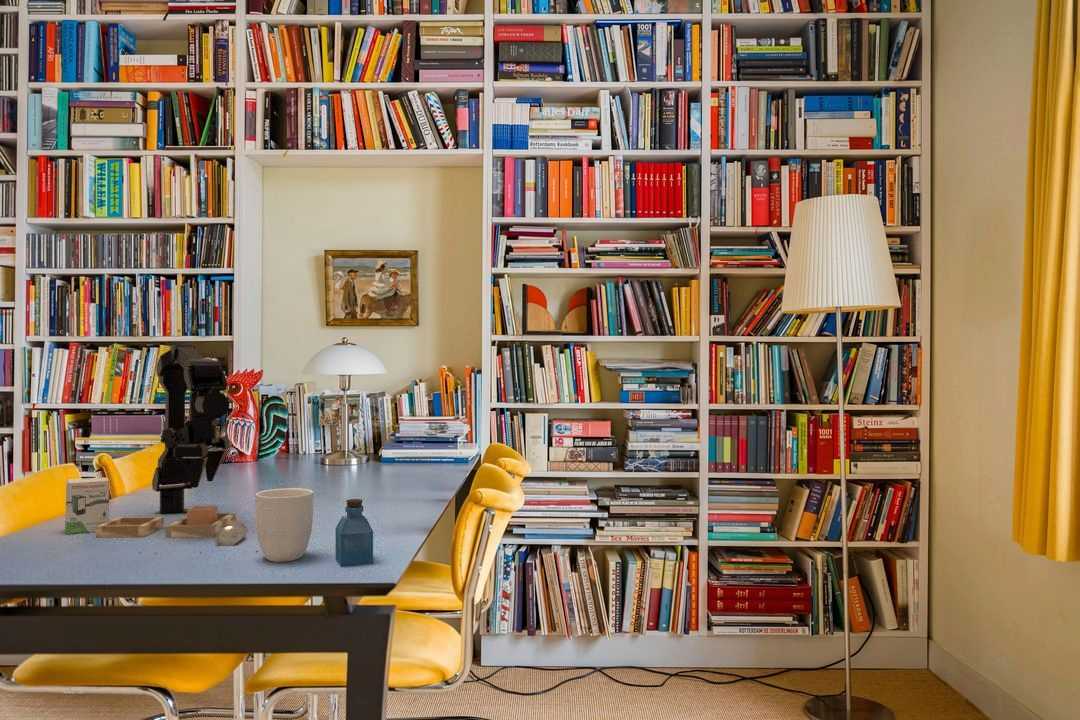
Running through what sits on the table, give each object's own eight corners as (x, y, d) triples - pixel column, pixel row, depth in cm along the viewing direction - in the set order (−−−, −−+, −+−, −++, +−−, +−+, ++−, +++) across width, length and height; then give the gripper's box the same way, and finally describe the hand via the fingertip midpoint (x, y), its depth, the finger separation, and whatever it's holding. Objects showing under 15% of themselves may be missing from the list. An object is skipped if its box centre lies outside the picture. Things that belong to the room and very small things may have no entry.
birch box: (192, 525, 187) (192, 513, 187) (236, 525, 187) (236, 512, 187) (165, 540, 171) (165, 526, 171) (213, 540, 172) (213, 526, 172)
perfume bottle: (340, 566, 150) (341, 504, 150) (335, 559, 156) (335, 498, 156) (373, 563, 153) (373, 502, 153) (366, 556, 159) (367, 496, 159)
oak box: (118, 530, 181) (118, 517, 181) (163, 529, 182) (163, 516, 182) (95, 540, 171) (95, 526, 171) (143, 539, 172) (143, 526, 172)
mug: (237, 553, 160) (238, 489, 160) (289, 545, 168) (289, 484, 168) (269, 568, 149) (270, 499, 149) (323, 558, 157) (323, 492, 157)
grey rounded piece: (223, 526, 171) (241, 517, 171) (231, 544, 171) (250, 536, 172) (211, 533, 164) (231, 524, 164) (220, 552, 164) (240, 543, 165)
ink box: (65, 534, 176) (66, 482, 176) (64, 530, 181) (65, 479, 181) (109, 530, 181) (109, 479, 181) (107, 526, 185) (108, 476, 185)
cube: (195, 527, 182) (195, 506, 182) (217, 527, 182) (217, 505, 182) (186, 532, 177) (187, 510, 177) (209, 532, 177) (209, 510, 177)
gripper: (183, 413, 188) (182, 478, 188) (148, 418, 170) (148, 491, 170) (230, 413, 189) (230, 478, 189) (201, 418, 170) (201, 491, 170)
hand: (202, 484), depth 179 cm, fingers open, 9 cm apart
